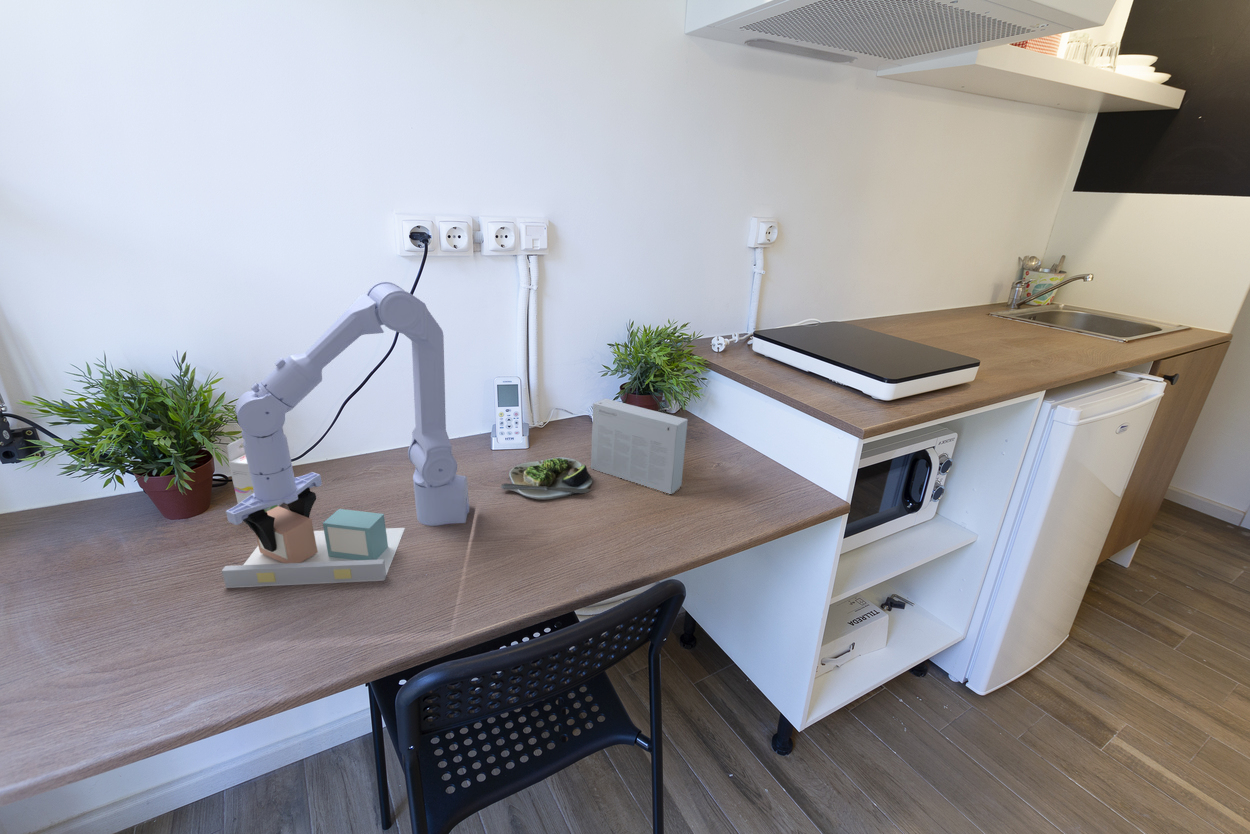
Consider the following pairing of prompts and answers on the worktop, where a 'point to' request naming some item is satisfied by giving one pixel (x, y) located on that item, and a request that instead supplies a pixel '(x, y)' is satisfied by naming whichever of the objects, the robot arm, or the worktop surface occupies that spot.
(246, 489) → the ink box
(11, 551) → the worktop surface
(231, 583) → the shelf board
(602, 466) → the skincare box
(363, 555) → the teal carton
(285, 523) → the terracotta carton
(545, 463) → the salad plate
